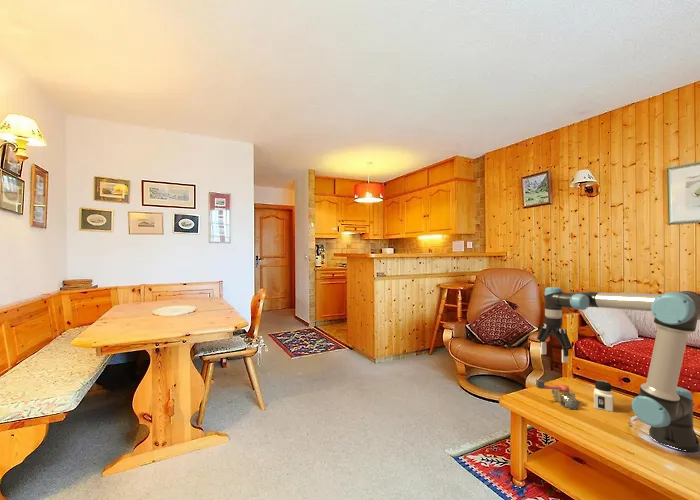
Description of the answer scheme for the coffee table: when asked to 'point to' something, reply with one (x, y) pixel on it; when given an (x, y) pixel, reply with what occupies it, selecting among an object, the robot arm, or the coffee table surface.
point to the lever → (541, 385)
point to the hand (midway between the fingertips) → (553, 358)
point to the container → (603, 396)
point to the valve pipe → (566, 398)
